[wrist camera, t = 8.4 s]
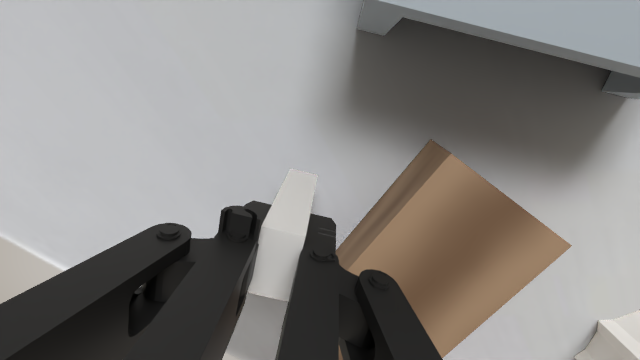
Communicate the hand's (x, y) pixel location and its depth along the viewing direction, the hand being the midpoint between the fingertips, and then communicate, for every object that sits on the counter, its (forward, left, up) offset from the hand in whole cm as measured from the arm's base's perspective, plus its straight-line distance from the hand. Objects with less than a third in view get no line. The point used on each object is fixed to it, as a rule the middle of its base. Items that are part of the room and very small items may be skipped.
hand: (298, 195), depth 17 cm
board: (+8, -4, -3) cm, 9 cm away
